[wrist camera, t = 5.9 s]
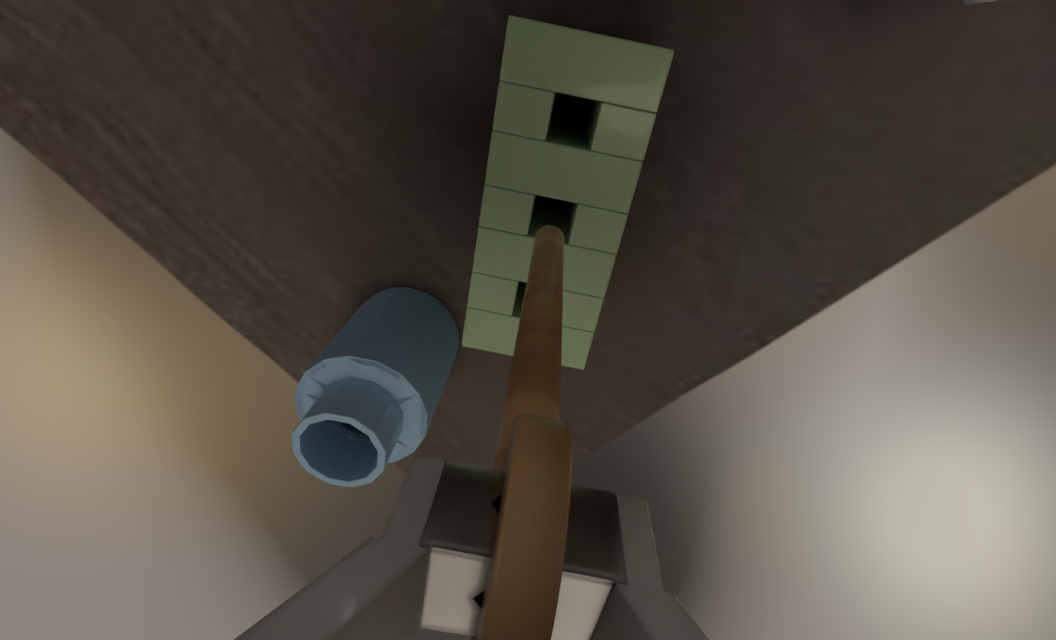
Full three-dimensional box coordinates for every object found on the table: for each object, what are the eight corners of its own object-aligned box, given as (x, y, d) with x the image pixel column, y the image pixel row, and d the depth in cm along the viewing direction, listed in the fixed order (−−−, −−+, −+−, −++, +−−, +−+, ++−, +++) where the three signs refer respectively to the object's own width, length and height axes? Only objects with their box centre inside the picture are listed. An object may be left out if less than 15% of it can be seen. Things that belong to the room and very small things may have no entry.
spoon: (545, 188, 20) (474, 583, 5) (575, 194, 20) (594, 605, 5) (526, 279, 21) (434, 766, 7) (553, 285, 21) (521, 781, 7)
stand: (522, 26, 26) (508, 14, 20) (649, 52, 26) (675, 49, 20) (480, 293, 33) (460, 346, 27) (580, 313, 33) (583, 370, 27)
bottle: (359, 277, 33) (260, 377, 23) (465, 298, 33) (416, 408, 23) (356, 366, 37) (269, 490, 26) (452, 385, 37) (406, 516, 26)
